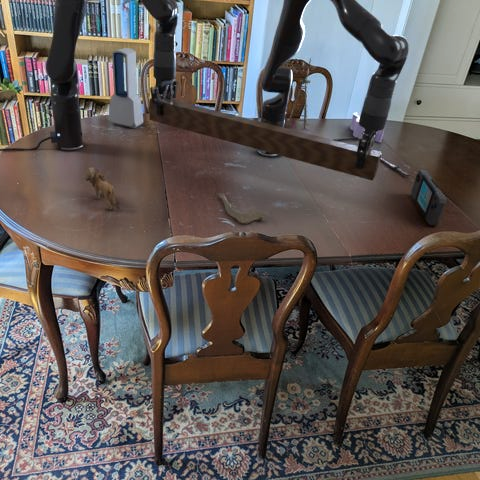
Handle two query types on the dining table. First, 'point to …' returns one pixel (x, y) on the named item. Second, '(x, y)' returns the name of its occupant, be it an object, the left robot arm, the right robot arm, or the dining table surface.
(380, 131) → the clip
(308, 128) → the dining table surface
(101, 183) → the lion figurine
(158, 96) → the left robot arm
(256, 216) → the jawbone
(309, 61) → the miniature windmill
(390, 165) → the sword
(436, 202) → the handheld gaming console
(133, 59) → the electronic device
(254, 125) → the post
